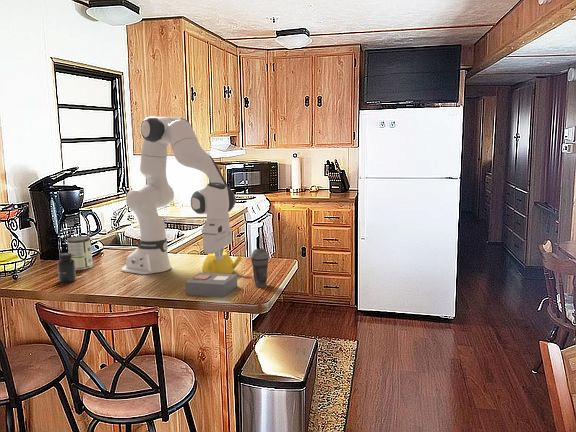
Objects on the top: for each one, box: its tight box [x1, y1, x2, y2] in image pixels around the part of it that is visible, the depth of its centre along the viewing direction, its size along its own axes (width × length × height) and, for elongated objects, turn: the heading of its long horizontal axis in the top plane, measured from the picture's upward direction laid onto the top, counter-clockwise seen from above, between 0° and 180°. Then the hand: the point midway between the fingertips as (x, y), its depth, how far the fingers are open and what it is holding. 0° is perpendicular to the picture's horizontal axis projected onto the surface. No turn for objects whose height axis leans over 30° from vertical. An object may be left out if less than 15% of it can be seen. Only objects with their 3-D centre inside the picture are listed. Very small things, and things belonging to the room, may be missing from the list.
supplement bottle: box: [57, 252, 77, 284], centre depth 225 cm, size 7×7×12 cm
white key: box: [213, 276, 229, 281], centre depth 207 cm, size 5×5×2 cm
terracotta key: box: [194, 275, 211, 280], centre depth 209 cm, size 5×5×2 cm
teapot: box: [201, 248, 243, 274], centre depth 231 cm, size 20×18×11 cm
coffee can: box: [66, 235, 94, 271], centre depth 247 cm, size 10×10×14 cm
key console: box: [184, 272, 238, 298], centre depth 208 cm, size 16×14×5 cm
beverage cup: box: [250, 237, 270, 288], centre depth 212 cm, size 7×7×20 cm
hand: (219, 259), depth 205 cm, fingers closed
